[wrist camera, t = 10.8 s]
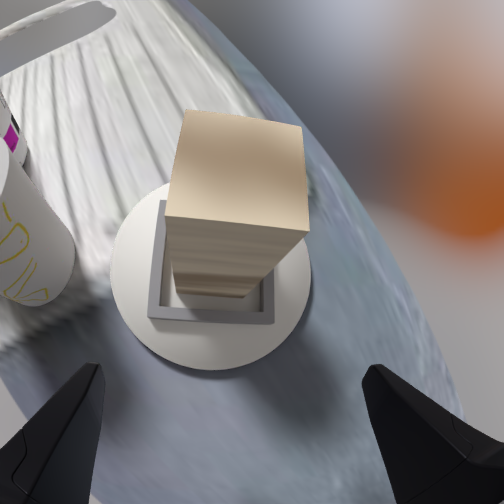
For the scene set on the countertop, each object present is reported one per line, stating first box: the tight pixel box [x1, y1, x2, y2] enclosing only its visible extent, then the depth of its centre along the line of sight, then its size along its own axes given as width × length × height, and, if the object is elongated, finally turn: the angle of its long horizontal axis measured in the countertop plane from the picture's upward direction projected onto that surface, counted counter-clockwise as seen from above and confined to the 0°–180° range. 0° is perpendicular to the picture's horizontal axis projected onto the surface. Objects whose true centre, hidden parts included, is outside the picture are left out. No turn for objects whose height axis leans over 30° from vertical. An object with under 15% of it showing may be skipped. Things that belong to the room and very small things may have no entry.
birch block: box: [164, 110, 310, 299], centre depth 17 cm, size 5×5×13 cm
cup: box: [0, 136, 75, 306], centre depth 15 cm, size 8×8×12 cm
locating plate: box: [110, 183, 311, 370], centre depth 22 cm, size 16×16×4 cm
